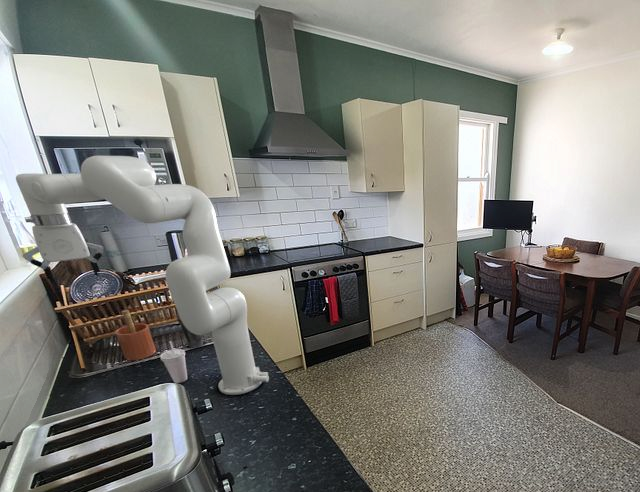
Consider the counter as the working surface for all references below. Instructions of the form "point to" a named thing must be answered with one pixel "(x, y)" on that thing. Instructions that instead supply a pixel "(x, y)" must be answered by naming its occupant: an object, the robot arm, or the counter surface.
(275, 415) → the counter surface
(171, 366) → the smoothie
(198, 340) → the beverage cup
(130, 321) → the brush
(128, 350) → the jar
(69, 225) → the robot arm
